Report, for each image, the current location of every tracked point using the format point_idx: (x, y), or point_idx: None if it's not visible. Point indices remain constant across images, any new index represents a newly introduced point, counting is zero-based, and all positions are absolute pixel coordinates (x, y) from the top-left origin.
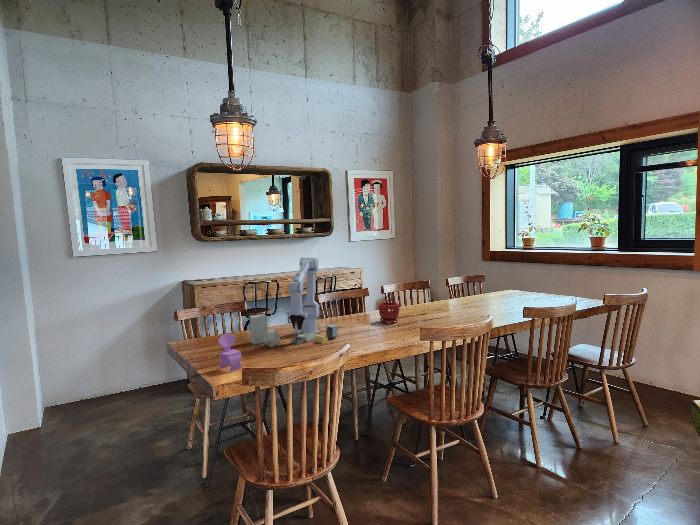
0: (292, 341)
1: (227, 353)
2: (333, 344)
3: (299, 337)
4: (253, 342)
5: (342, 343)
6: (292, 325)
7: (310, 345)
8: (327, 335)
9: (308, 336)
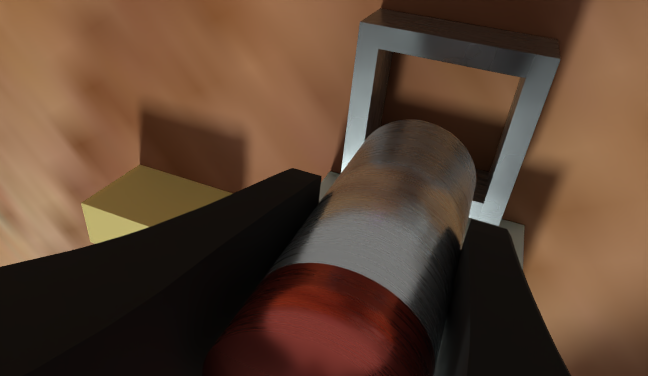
0: (518, 41)
1: None
2: (41, 155)
3: None
4: None
5: (20, 204)
6: (526, 292)
7: (180, 28)
8: None
9: None
